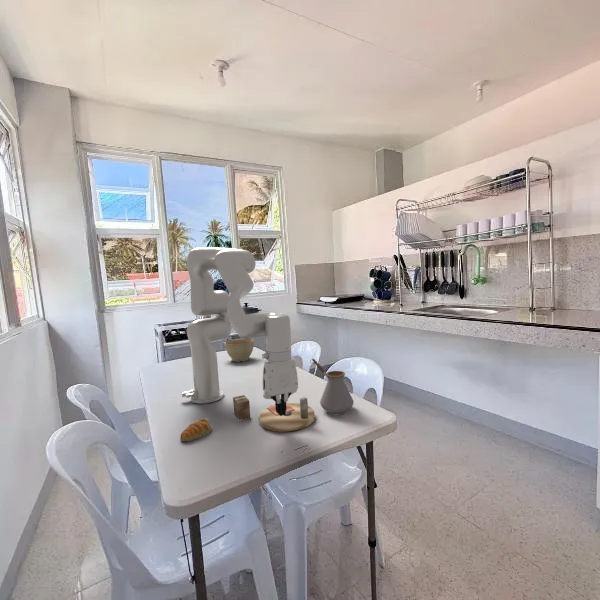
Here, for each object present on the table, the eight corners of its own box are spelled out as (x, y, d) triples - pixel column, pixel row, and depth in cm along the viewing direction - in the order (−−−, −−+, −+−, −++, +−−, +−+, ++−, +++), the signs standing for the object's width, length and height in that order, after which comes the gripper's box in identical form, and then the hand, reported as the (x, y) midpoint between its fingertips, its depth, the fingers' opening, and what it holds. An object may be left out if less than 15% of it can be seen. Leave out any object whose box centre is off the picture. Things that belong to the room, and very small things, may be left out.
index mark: (273, 410, 114) (273, 408, 114) (270, 406, 117) (270, 405, 117) (279, 408, 115) (279, 407, 115) (275, 405, 118) (275, 404, 118)
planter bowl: (260, 357, 188) (259, 339, 187) (242, 365, 174) (241, 345, 173) (239, 355, 196) (238, 337, 195) (220, 362, 182) (218, 343, 182)
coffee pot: (360, 411, 109) (359, 368, 108) (332, 420, 104) (330, 374, 103) (326, 392, 128) (324, 355, 127) (300, 399, 123) (298, 360, 121)
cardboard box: (238, 420, 107) (237, 402, 107) (234, 414, 113) (232, 396, 112) (250, 417, 109) (249, 399, 109) (245, 411, 114) (244, 394, 114)
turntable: (316, 429, 98) (315, 405, 97) (256, 433, 97) (255, 409, 97) (312, 405, 116) (311, 385, 115) (262, 408, 115) (260, 388, 114)
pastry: (190, 445, 93) (189, 432, 93) (174, 440, 97) (173, 428, 96) (214, 431, 101) (213, 419, 101) (198, 427, 105) (197, 415, 104)
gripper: (259, 362, 91) (262, 424, 93) (306, 354, 98) (308, 412, 99) (251, 356, 98) (254, 414, 99) (295, 349, 104) (297, 404, 106)
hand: (281, 413), depth 99 cm, fingers closed
